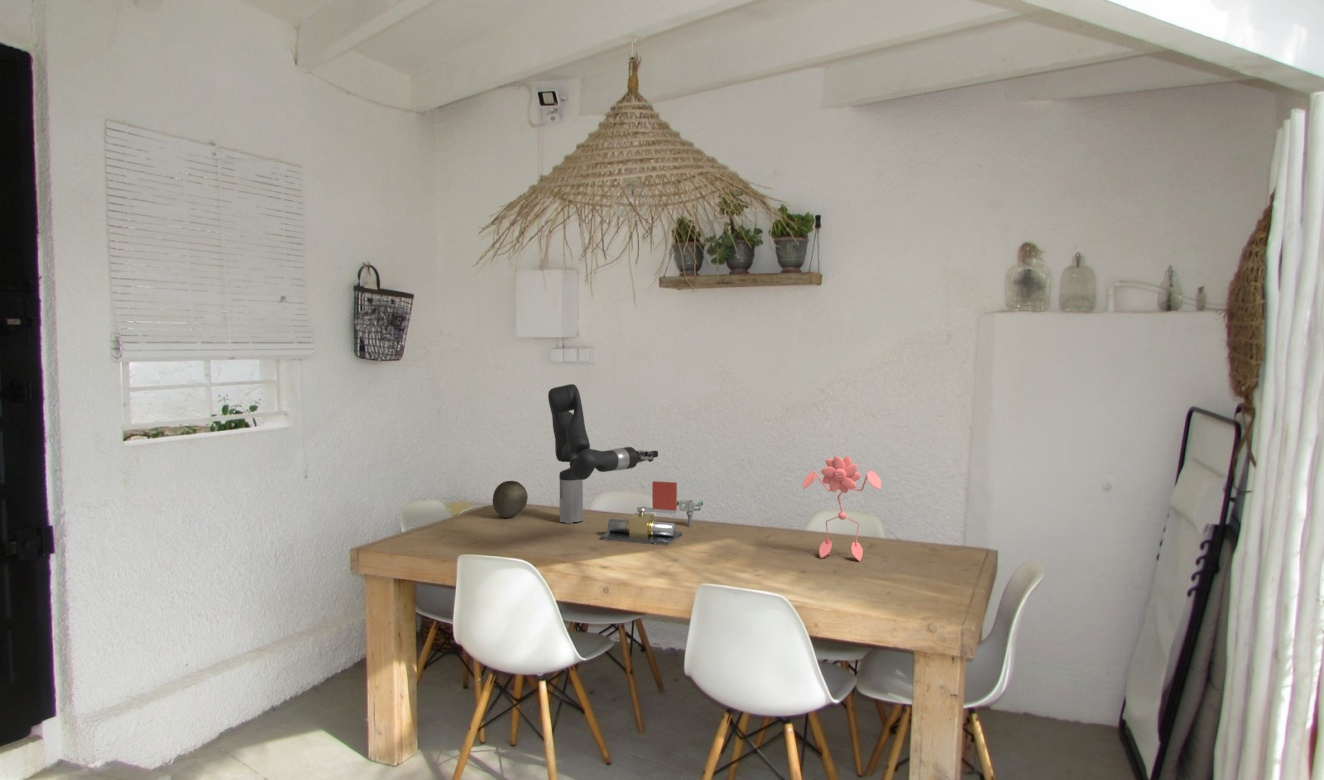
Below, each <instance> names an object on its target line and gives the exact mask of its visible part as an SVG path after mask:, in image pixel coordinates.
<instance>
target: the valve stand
mask: <svg viewBox="0 0 1324 780" xmlns="http://www.w3.org/2000/svg"><path fill="white" fill-rule="evenodd" d="M654 516H655V514H654V513H645V512H635V513H633V514H632V515H630V516H629V518H627V519H623V518H613V517H612V518H609V519H608V522H607V529H608V530H607V532H605V533H604V534H602V535H600V540H601V539H607V540H606V541H610V540H619V541H618V542H622V541H631V542H630V543H634V542H644V543H643V544H646V543H656V544H655V545H658V544H667V545H666V546H669V545H671V544H672V543H673V542H675V541H676V540H677V539H679V538H680V537H681V536H680V535H683V532H682V531H677V525H676V523H675V522H665V521H657V520H656V519H655V517H654ZM679 536H680V537H679ZM678 537H679V538H678ZM676 538H677V539H676ZM675 539H676V540H675ZM674 540H675V541H674ZM672 541H673V542H672ZM671 542H672V543H671ZM670 543H671V544H670ZM668 544H669V545H668Z"/></svg>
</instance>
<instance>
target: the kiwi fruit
mask: <svg viewBox="0 0 1324 780" xmlns="http://www.w3.org/2000/svg"><path fill="white" fill-rule="evenodd" d="M492 495H493V496H492V506H493V509H494V511H495V512H496V514H497V515H498V516H500V517H502V518H504V519H505V518H506V519H510V518H513V517H516V516H518V515H519V514H520V513H521V512H522V511H523V510H524V509H525V508H526V506H527V504H528V498H529V496H528V492H527V490H526V487H525V486H523V484H522V483H520V482H519V481H516V480H505V481H503V482H501V483H500V484H498V485H497V486H496V488H495V490H494V492H493V494H492Z"/></svg>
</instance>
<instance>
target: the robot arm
mask: <svg viewBox="0 0 1324 780" xmlns="http://www.w3.org/2000/svg"><path fill="white" fill-rule="evenodd" d="M547 394H548V400H547V401H548V403H549V404H548V405H549V407H550V413H551V420H552V430H553V435H554V440H555V441H554V444H555V445H554V446H555V447H554V448H555V457H556V460H557V461H559V462H561V463H569V468H566V469H564V470H561V471H560V472H559V479H558V480H559V523H560V522H565V523H564V524H574V523H573V522H579V521H582V520H583V521H584V503H583V502H584V501H583V497H584V494H583V493H584V492H583V488H584V487H583V484H584V482H583V481H584V480H586V479H588V478H589V477H590V476H591V475H592V473H593V472H594V471H595V470H597V471H598V472H600V473H606V472H612V471H613V472H614V471H616V472H617V471H624V470H630V469H634V468H635V467H636V466H637V464H641V463H644V462H647V461H648V462H649V463H651V462H653V461H654V458H658V457H659V450H649V451H647V450H636V449H635V448H634V447H632V446H625V447H619V448H618V447H617V448H613V449H609V450H597V449H593V448H591V445H590V440H589V436H588V432H587V429H586V425H585V418H584V417H585V416H584V410H583V404H582V400H581V394H580V391H579V388H578V387H577V385H575V384H574V383H571V384H565V385H562V386H556V387H552V388H550V389H549V391H548V393H547ZM571 411H573V413H572V412H571ZM583 521H582V522H583ZM579 523H580V522H579Z"/></svg>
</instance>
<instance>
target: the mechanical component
mask: <svg viewBox="0 0 1324 780" xmlns="http://www.w3.org/2000/svg"><path fill="white" fill-rule="evenodd" d="M683 505H685V506H683ZM703 505H704V501H701V500H699V501H698V503H697V504H695V503H694V500H693V499H692V500H691V499H690V500H688V499H687V500H686V499H685V500H683V499H680V500H677V506H678V509H679V511H681V512H686V515H687V527H688V526H691V527H692V525H693V522H692V519H693V518H692V517H693V515H694V513H693V512H699V511H701V510H702V506H703ZM694 507H695V508H694ZM697 507H698V508H697Z"/></svg>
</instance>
